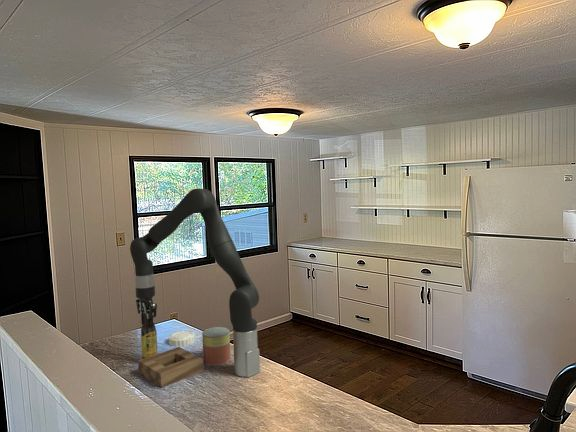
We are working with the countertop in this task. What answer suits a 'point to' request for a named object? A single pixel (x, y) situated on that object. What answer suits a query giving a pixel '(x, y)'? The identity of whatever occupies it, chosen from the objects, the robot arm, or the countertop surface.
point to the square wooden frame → (170, 366)
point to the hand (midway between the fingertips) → (147, 325)
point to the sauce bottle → (148, 339)
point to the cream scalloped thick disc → (181, 338)
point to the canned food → (216, 346)
